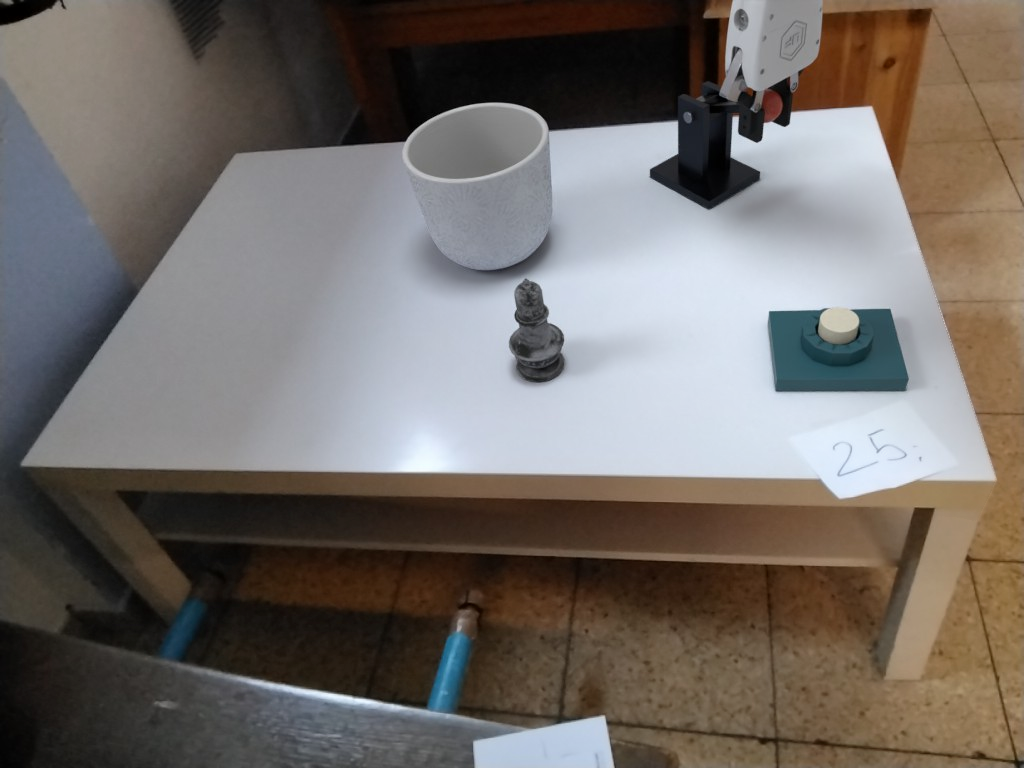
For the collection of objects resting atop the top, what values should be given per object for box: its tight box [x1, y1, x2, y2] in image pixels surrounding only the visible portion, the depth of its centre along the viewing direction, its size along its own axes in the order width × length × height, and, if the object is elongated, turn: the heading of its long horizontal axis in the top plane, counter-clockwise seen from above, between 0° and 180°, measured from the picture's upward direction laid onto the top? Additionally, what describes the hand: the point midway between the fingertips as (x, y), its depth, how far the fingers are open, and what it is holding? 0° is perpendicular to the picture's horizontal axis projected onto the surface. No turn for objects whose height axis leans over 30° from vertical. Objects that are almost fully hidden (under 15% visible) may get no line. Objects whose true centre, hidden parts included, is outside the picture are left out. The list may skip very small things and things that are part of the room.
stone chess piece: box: [508, 278, 566, 383], centre depth 85 cm, size 6×6×12 cm
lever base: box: [649, 80, 761, 210], centre depth 104 cm, size 11×9×12 cm
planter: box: [401, 102, 553, 271], centre depth 99 cm, size 17×17×15 cm
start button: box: [818, 306, 859, 345], centre depth 81 cm, size 4×4×2 cm
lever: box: [695, 88, 783, 124], centre depth 97 cm, size 13×4×4 cm, turn 36°
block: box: [767, 307, 910, 392], centre depth 83 cm, size 12×10×4 cm
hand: (763, 128), depth 95 cm, fingers closed on lever, 3 cm apart
